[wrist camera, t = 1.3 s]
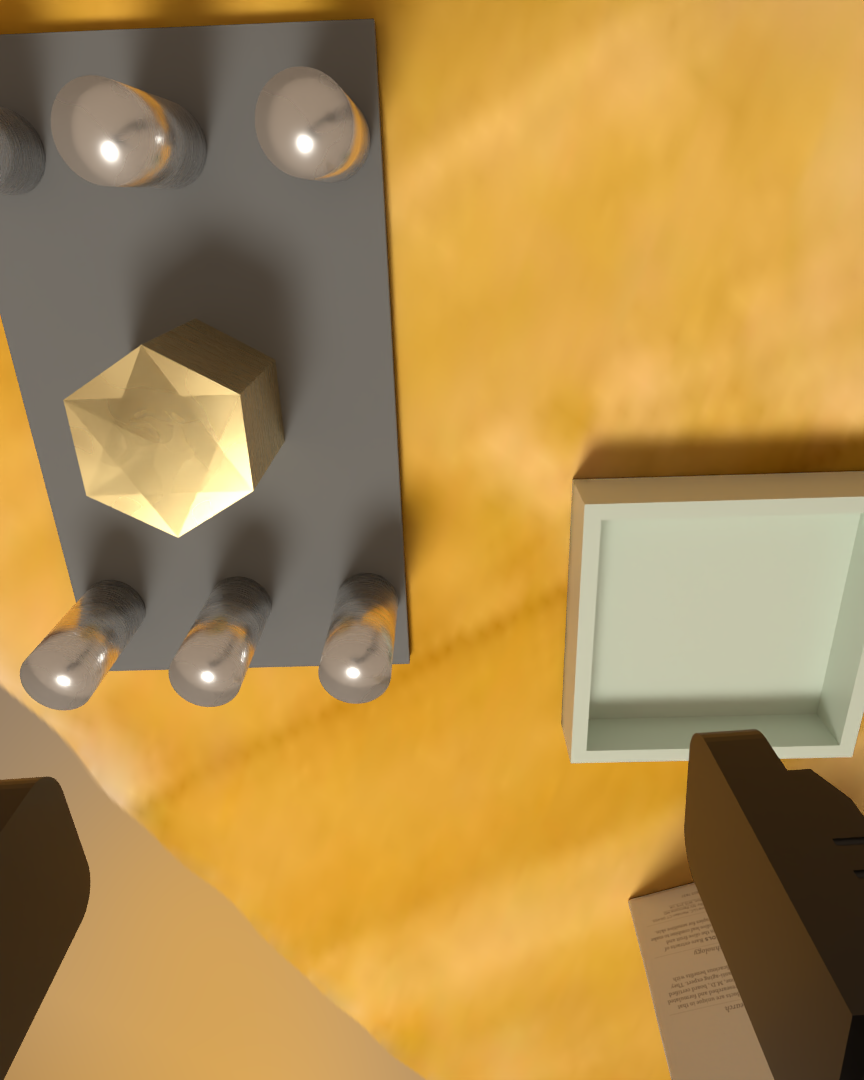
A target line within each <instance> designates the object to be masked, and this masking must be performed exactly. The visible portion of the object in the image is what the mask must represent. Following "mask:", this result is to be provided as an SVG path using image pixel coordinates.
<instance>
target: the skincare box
mask: <svg viewBox="0 0 864 1080" xmlns="http://www.w3.org/2000/svg"><path fill="white" fill-rule="evenodd" d="M628 903H629V907H630V911H631V915H632V919H633V923H634V927H635V931H636V935H637V939H638V943H639V947H640V951H641V955H642V959H643V963H644V967H645V971H646V975H647V979H648V983H649V988H650V992H651V996H652V1000H653V1004H654V1009H655V1013H656V1017H657V1021H658V1026H659V1030H660V1034H661V1038H662V1043H663V1047H664V1051H665V1055H666V1059H667V1063H668V1067H669V1071H670V1076H671V1080H774V1078H773V1075H772V1073H771V1070H770V1068H769V1066H768V1063H767V1061H766V1058H765V1056H764V1053H763V1051H762V1048H761V1046H760V1043H759V1041H758V1038H757V1036H756V1033H755V1031H754V1029H753V1026H752V1024H751V1021H750V1019H749V1016H748V1014H747V1011H746V1009H745V1006H744V1004H743V1001H742V999H741V996H740V994H739V992H738V989H737V987H736V984H735V982H734V979H733V977H732V974H731V972H730V969H729V967H728V964H727V962H726V959H725V957H724V954H723V952H722V950H721V947H720V945H719V942H718V940H717V937H716V935H715V932H714V930H713V927H712V925H711V922H710V920H709V917H708V915H707V913H706V910H705V908H704V905H703V903H702V900H701V898H700V895H699V893H698V890H697V888H696V885H695V883H691V884H687V885H683V886H679V887H676V888H672V889H668V890H664V891H660V892H656V893H653V894H649V895H645V896H641V897H637V898H633V899H630V900H629V902H628Z"/></svg>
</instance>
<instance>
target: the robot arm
mask: <svg viewBox="0 0 864 1080" xmlns="http://www.w3.org/2000/svg"><path fill="white" fill-rule="evenodd" d="M684 834H685V846H686V852H687V858H688V863H689V867H690V871H691V874H692V877H693V880H694V883H695V885H696V888H697V890H698V893H699V895H700V898H701V900H702V903H703V905H704V908H705V910H706V913H707V915H708V917H709V920H710V922H711V925H712V927H713V930H714V932H715V935H716V937H717V940H718V942H719V945H720V947H721V950H722V952H723V954H724V957H725V959H726V962H727V964H728V967H729V969H730V972H731V974H732V977H733V979H734V982H735V984H736V987H737V989H738V992H739V994H740V996H741V999H742V1001H743V1004H744V1006H745V1009H746V1011H747V1014H748V1016H749V1019H750V1021H751V1024H752V1026H753V1029H754V1031H755V1033H756V1036H757V1038H758V1041H759V1043H760V1046H761V1048H762V1051H763V1053H764V1056H765V1058H766V1061H767V1063H768V1066H769V1068H770V1070H771V1073H772V1075H773V1078H774V1080H864V816H863V815H862V814H861V812H860V811H859V809H858V808H857V807H856V805H855V804H854V803H853V801H852V800H851V799H850V798H849V797H848V796H846V795H845V794H844V793H842V792H841V791H839V790H838V789H837V788H835V787H834V786H833V785H831V784H830V783H829V782H827V781H826V780H825V779H823V778H822V777H820V776H819V775H818V774H816V773H815V772H814V771H812V770H811V769H802V770H788V771H787V769H786V768H785V766H784V765H783V763H782V762H781V760H780V759H779V757H778V756H777V754H776V753H775V751H774V750H773V748H772V747H771V745H770V744H769V742H768V741H767V739H766V738H765V736H764V735H763V734H762V733H761V732H760V731H759V730H757V729H746V730H731V731H717V732H703V733H695V734H694V735H693V736H692V738H691V742H690V748H689V763H688V779H687V794H686V809H685V824H684ZM89 893H90V872H89V866H88V863H87V860H86V857H85V854H84V851H83V848H82V845H81V843H80V840H79V837H78V834H77V831H76V828H75V825H74V822H73V819H72V817H71V814H70V811H69V808H68V805H67V803H66V799H65V796H64V794H63V791H62V788H61V786H60V785H59V783H58V782H57V781H56V780H55V779H54V778H52V777H36V778H21V779H7V780H0V1080H4V1078H5V1076H6V1074H7V1072H8V1070H9V1067H10V1066H11V1064H12V1061H13V1059H14V1058H15V1056H16V1054H17V1052H18V1049H19V1047H20V1045H21V1043H22V1041H23V1039H24V1037H25V1035H26V1033H27V1031H28V1029H29V1027H30V1025H31V1023H32V1021H33V1019H34V1017H35V1015H36V1013H37V1011H38V1009H39V1007H40V1005H41V1003H42V1001H43V999H44V997H45V995H46V993H47V991H48V988H49V986H50V985H51V983H52V981H53V979H54V976H55V974H56V972H57V970H58V968H59V966H60V964H61V962H62V960H63V958H64V956H65V954H66V952H67V950H68V948H69V946H70V944H71V942H72V940H73V938H74V936H75V933H76V932H77V930H78V928H79V925H80V924H81V922H82V919H83V917H84V914H85V912H86V908H87V904H88V900H89Z"/></svg>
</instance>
